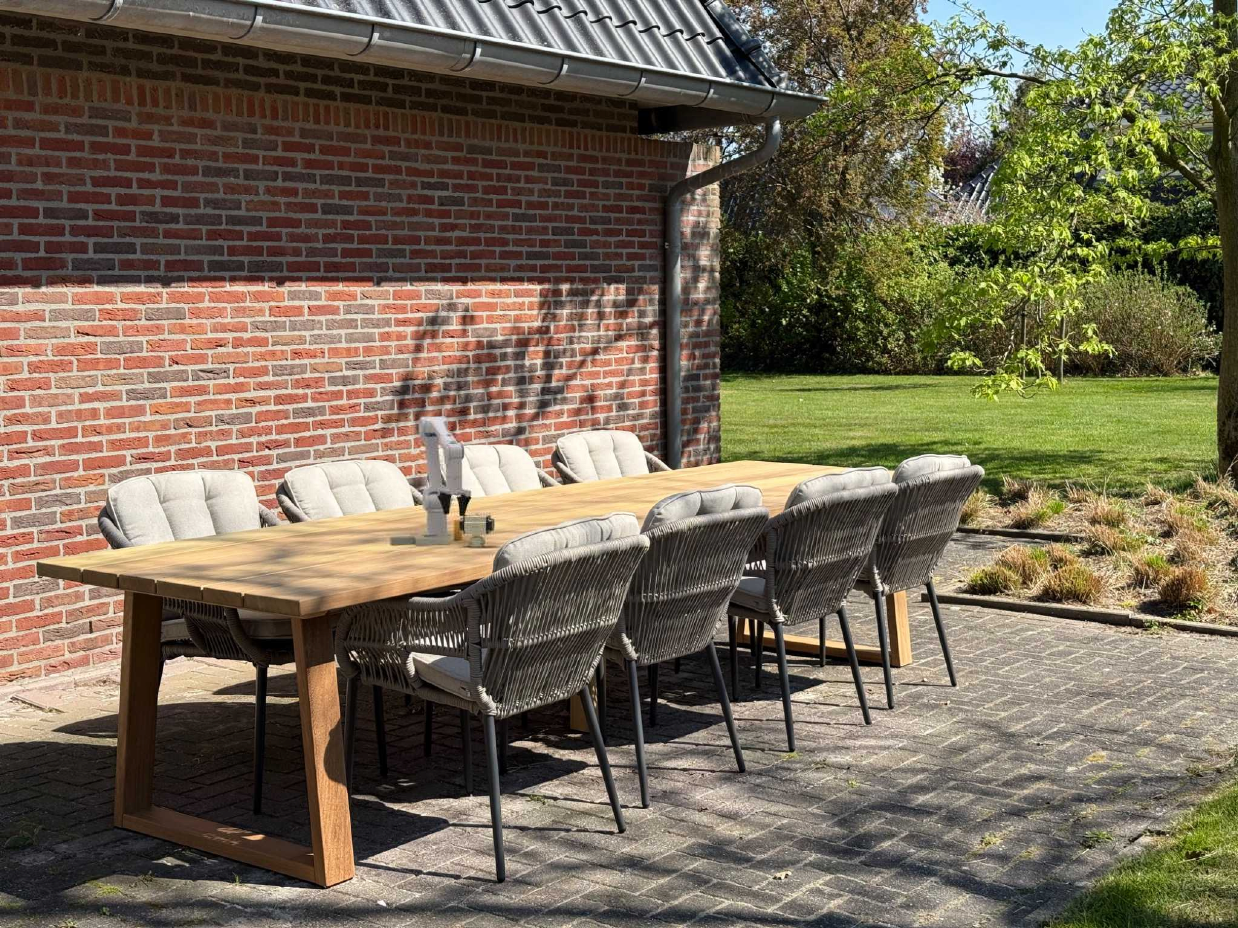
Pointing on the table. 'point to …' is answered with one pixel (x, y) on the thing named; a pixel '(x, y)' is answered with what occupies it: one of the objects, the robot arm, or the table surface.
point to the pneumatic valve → (476, 527)
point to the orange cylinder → (457, 530)
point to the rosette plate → (421, 539)
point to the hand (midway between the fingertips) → (454, 515)
